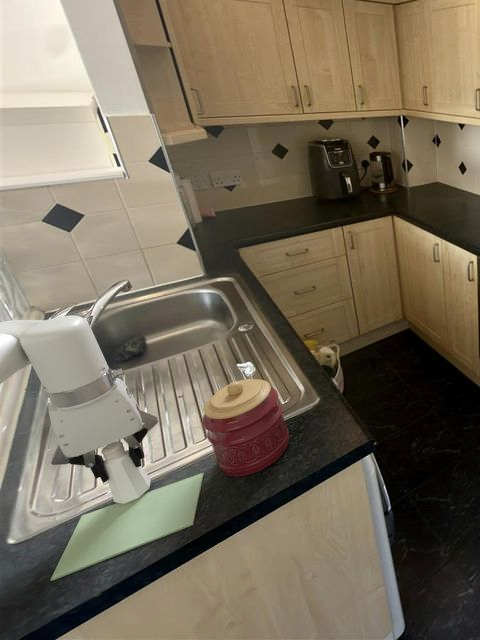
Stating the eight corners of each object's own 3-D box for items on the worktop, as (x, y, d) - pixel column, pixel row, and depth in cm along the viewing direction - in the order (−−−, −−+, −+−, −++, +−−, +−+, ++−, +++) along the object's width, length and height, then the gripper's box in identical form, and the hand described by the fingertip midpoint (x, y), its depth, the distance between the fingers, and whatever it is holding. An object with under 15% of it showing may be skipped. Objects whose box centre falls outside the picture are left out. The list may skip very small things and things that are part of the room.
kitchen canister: (283, 420, 94) (264, 355, 87) (297, 453, 84) (277, 384, 78) (215, 450, 86) (189, 381, 80) (224, 491, 77) (195, 417, 70)
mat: (51, 581, 63) (50, 579, 62) (82, 517, 73) (81, 515, 72) (193, 525, 70) (192, 523, 70) (204, 473, 80) (203, 472, 80)
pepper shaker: (145, 474, 80) (125, 430, 76) (156, 487, 77) (136, 442, 73) (109, 495, 75) (86, 450, 72) (119, 509, 73) (95, 463, 69)
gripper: (146, 357, 76) (177, 434, 82) (11, 400, 65) (59, 484, 72) (148, 375, 70) (181, 455, 77) (2, 425, 60) (55, 513, 66)
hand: (122, 468), depth 74 cm, fingers closed on pepper shaker, 3 cm apart
